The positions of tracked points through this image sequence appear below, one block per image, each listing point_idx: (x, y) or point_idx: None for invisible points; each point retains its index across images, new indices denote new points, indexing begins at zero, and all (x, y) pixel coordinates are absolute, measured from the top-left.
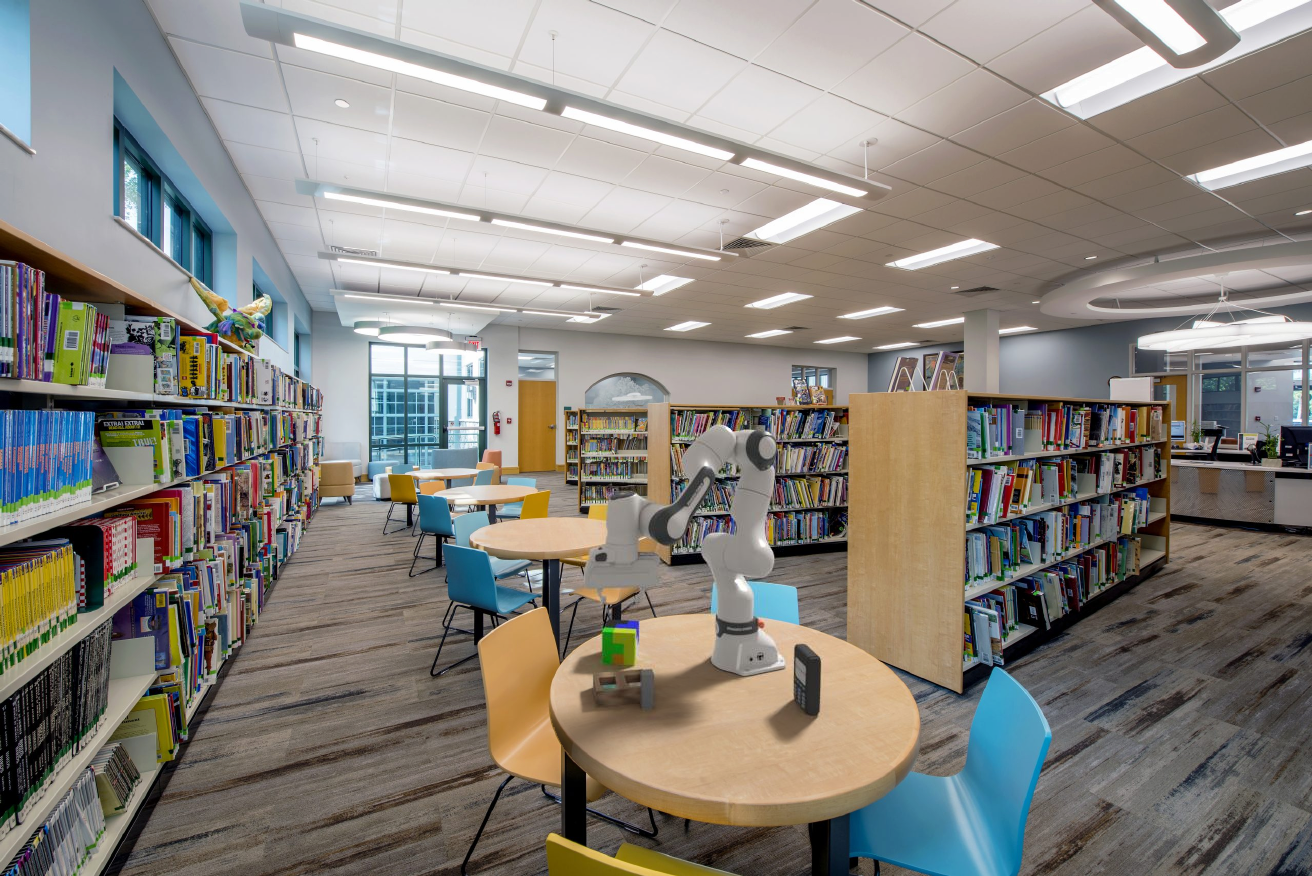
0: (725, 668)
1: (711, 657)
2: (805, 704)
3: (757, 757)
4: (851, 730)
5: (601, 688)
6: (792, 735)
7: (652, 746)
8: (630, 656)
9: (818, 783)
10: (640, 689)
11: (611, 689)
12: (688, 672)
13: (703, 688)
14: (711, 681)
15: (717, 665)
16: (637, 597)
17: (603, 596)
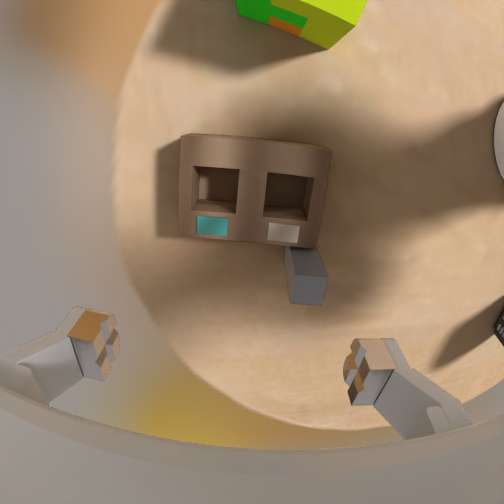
0: (502, 171)
1: (501, 112)
2: (499, 334)
3: None
4: (496, 357)
5: (192, 225)
6: (448, 361)
7: (265, 354)
8: (322, 38)
9: None
10: (290, 250)
11: (216, 235)
12: (441, 139)
13: (436, 217)
14: (461, 196)
15: (497, 150)
16: (360, 402)
17: (75, 340)
